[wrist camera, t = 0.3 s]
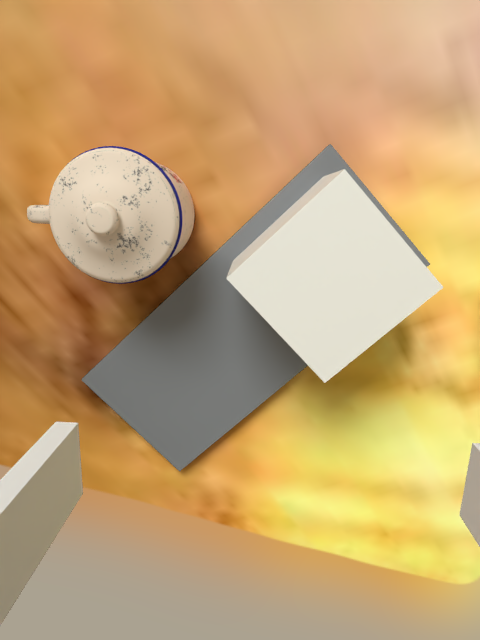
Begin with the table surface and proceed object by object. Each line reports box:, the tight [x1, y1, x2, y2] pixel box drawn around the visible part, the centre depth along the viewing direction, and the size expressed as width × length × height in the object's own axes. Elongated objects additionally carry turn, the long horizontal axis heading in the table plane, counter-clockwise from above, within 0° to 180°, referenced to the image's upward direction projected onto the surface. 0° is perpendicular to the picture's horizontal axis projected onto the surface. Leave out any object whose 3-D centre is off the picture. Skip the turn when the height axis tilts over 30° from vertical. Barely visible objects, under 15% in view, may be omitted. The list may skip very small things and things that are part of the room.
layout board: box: [82, 144, 430, 471], centre depth 40 cm, size 13×30×1 cm, turn 133°
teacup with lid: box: [27, 146, 195, 284], centre depth 33 cm, size 12×9×12 cm
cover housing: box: [226, 169, 443, 383], centre depth 33 cm, size 10×10×9 cm
